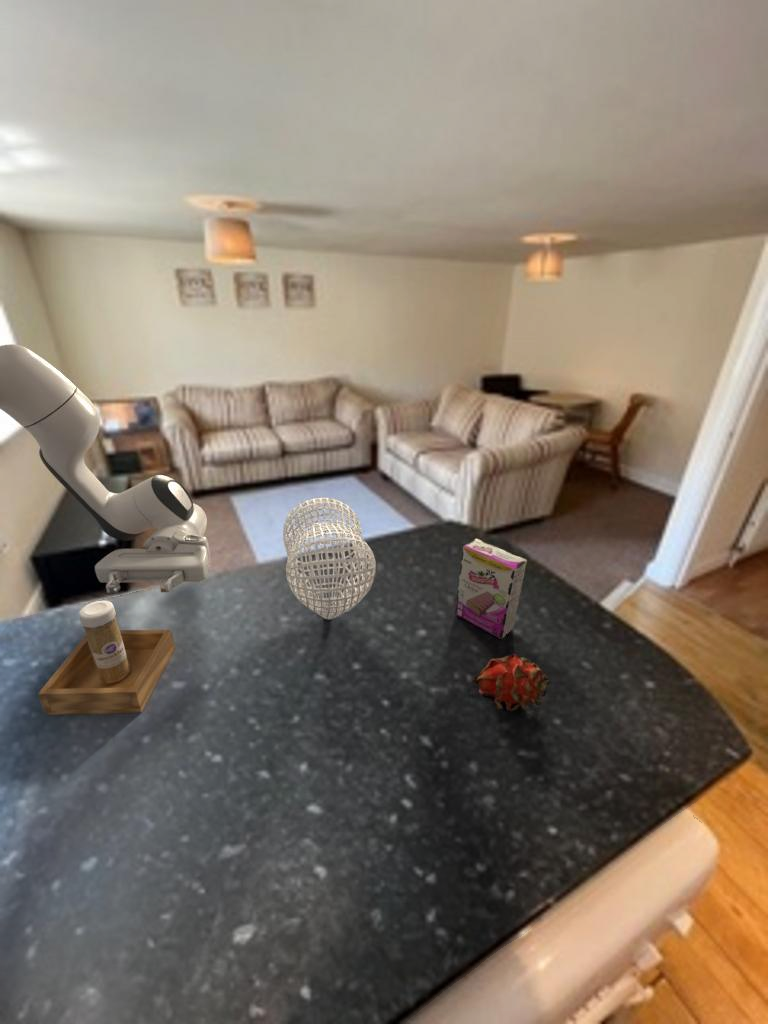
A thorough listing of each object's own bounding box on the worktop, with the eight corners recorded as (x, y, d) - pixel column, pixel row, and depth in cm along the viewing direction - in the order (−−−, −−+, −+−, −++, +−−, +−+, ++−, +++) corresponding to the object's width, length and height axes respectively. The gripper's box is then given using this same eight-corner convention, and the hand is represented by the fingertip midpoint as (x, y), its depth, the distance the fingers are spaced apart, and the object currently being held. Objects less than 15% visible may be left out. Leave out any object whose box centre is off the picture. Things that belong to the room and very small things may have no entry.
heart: (381, 658, 80) (385, 550, 70) (293, 671, 76) (285, 560, 67) (354, 573, 104) (354, 485, 95) (286, 580, 101) (279, 490, 91)
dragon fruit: (549, 713, 72) (473, 714, 73) (540, 658, 76) (469, 660, 77) (559, 708, 64) (475, 709, 66) (549, 648, 69) (470, 650, 70)
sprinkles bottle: (110, 689, 71) (89, 621, 65) (93, 678, 73) (71, 611, 67) (137, 670, 75) (119, 605, 69) (120, 660, 77) (101, 596, 71)
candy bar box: (453, 615, 91) (461, 545, 84) (467, 605, 95) (475, 537, 88) (501, 642, 84) (514, 568, 77) (514, 630, 88) (528, 558, 81)
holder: (45, 715, 67) (37, 694, 65) (95, 649, 80) (89, 630, 78) (141, 712, 68) (135, 692, 66) (175, 648, 81) (171, 629, 79)
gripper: (112, 537, 91) (73, 575, 79) (214, 537, 92) (191, 574, 80) (119, 564, 94) (82, 604, 81) (218, 563, 95) (197, 603, 83)
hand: (137, 589), depth 81 cm, fingers open, 8 cm apart
